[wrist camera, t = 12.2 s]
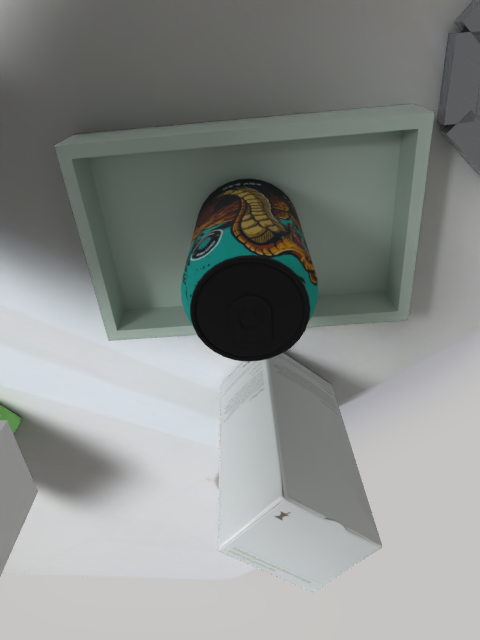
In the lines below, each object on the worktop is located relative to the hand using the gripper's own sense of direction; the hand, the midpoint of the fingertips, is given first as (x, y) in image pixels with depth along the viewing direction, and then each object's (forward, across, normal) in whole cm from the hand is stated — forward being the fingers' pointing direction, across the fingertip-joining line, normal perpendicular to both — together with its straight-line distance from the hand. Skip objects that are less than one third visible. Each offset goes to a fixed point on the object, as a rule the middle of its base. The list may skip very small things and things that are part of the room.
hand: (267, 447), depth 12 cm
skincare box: (+23, +2, -17) cm, 29 cm away
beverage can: (+22, 0, -2) cm, 23 cm away
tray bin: (+23, 0, -2) cm, 23 cm away
